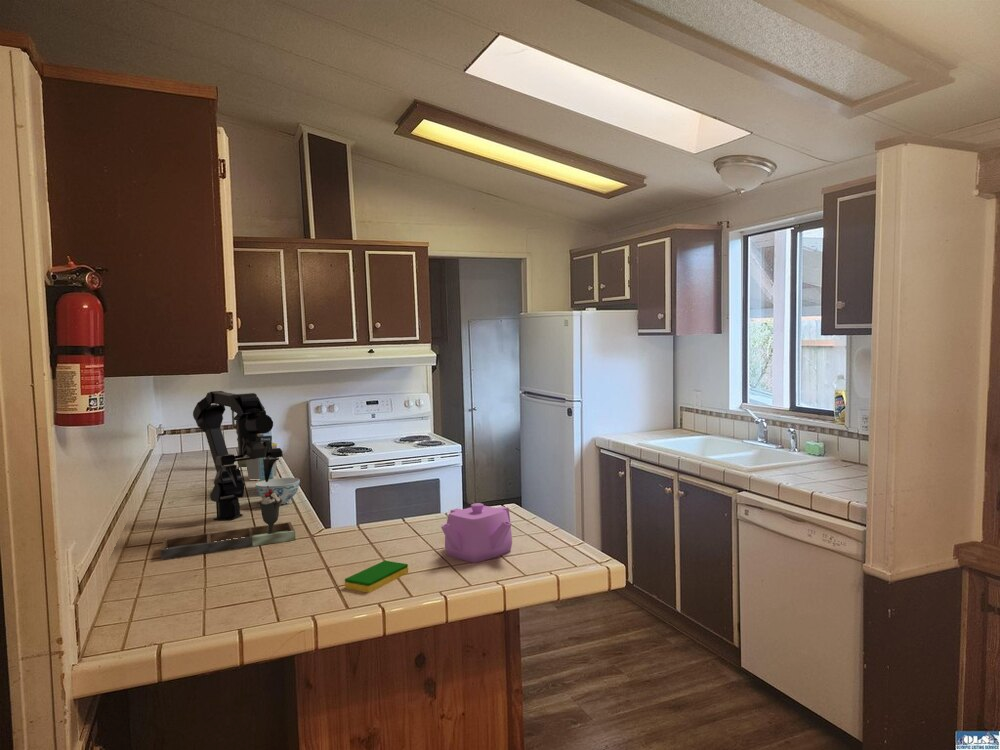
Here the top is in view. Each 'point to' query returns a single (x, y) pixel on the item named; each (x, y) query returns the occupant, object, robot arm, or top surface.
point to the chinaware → (279, 488)
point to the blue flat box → (264, 438)
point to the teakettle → (478, 533)
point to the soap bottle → (257, 466)
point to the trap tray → (207, 544)
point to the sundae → (270, 509)
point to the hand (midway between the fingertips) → (252, 484)
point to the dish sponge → (376, 576)
